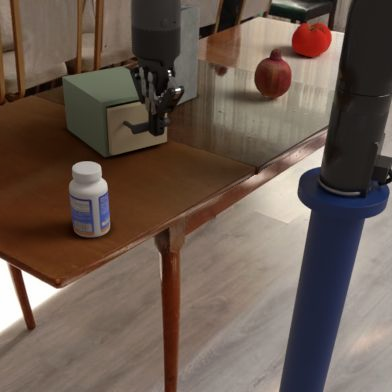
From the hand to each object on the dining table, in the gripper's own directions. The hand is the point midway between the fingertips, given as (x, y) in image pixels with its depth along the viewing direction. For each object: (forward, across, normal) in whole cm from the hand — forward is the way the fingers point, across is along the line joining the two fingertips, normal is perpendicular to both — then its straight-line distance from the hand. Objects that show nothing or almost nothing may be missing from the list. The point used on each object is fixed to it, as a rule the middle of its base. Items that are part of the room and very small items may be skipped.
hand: (156, 134), depth 105 cm
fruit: (+6, +15, -39) cm, 42 cm away
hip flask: (+6, +23, -19) cm, 30 cm away
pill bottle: (+6, -13, +20) cm, 24 cm away
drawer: (+5, +10, 0) cm, 11 cm away
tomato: (+6, +34, -70) cm, 78 cm away
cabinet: (+6, +15, 0) cm, 16 cm away
